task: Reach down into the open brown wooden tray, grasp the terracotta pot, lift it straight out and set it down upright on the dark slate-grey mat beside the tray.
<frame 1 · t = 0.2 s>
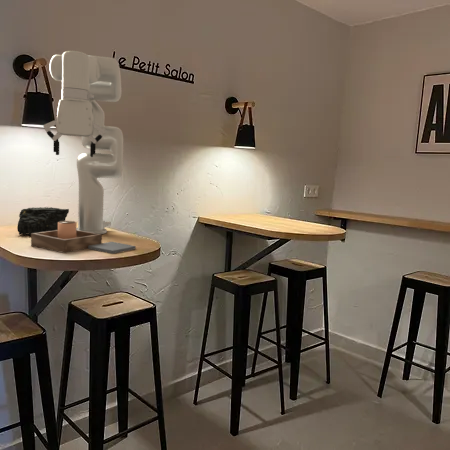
hand: (74, 155, 133), 31 cm above the table, tool pointing down, fingers open, 9 cm apart
brown wooden tray: (66, 245, 153), on the table
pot: (67, 233, 152), in the brown wooden tray
rock: (44, 233, 173), on the table
mat: (112, 248, 152), on the table
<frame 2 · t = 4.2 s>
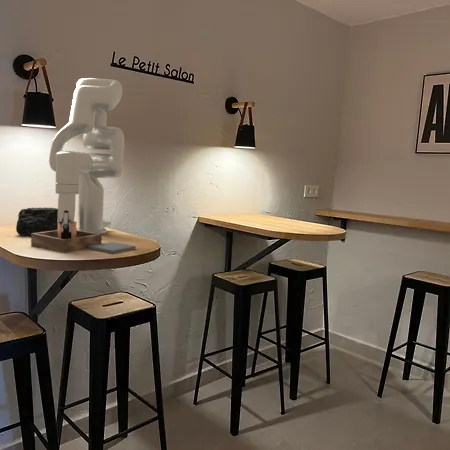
hand: (66, 241, 153), 1 cm above the table, tool pointing down, fingers closed on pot, 6 cm apart
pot: (67, 233, 152), in the brown wooden tray, touching gripper
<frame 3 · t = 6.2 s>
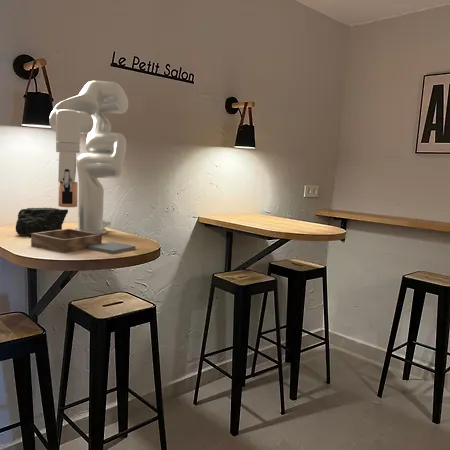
hand: (68, 201, 151), 15 cm above the table, tool pointing down, fingers closed on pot, 6 cm apart
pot: (68, 194, 151), point 18 cm above the table, touching gripper
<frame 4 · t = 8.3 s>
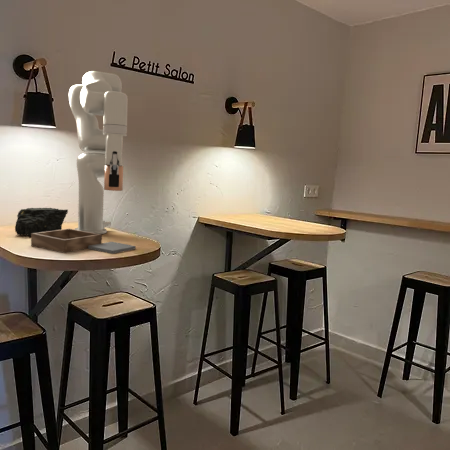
hand: (113, 185, 149), 21 cm above the table, tool pointing down, fingers closed on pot, 6 cm apart
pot: (113, 177, 149), point 24 cm above the table, touching gripper
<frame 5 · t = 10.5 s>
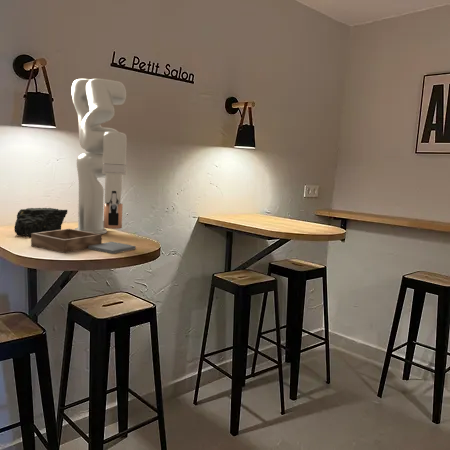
hand: (113, 223, 151), 9 cm above the table, tool pointing down, fingers closed on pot, 6 cm apart
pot: (113, 215, 150), point 12 cm above the table, touching gripper
when the fingers open (4 cm above the table, at t = 12.5 s): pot drops 1 cm, resting on mat.
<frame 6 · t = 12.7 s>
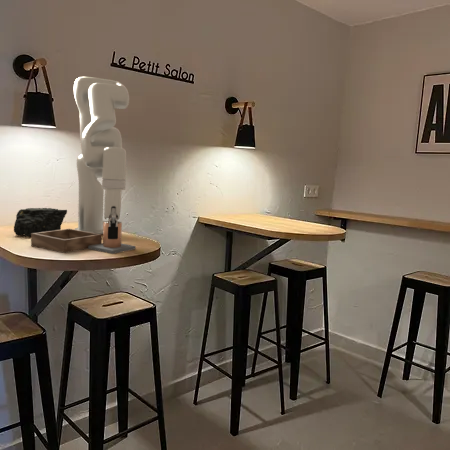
hand: (112, 236, 152), 4 cm above the table, tool pointing down, fingers open, 8 cm apart
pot: (112, 233, 152), on the mat, point 5 cm above the table
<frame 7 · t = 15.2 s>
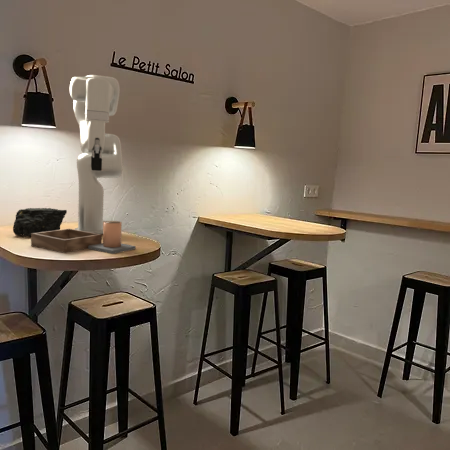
hand: (96, 169, 152), 26 cm above the table, tool pointing down, fingers open, 9 cm apart
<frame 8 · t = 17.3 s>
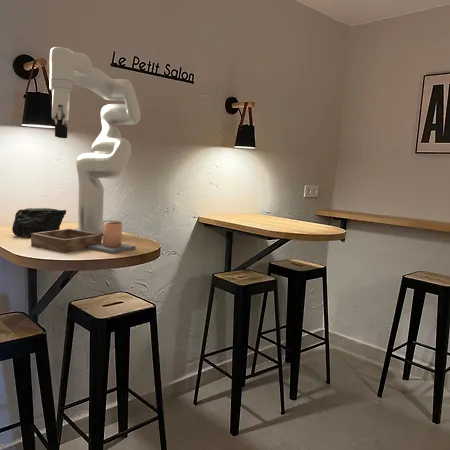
hand: (61, 137, 155), 36 cm above the table, tool pointing down, fingers open, 9 cm apart
at the end: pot inside the target area on the mat (0.1 cm from its centre), point 5.2 cm above the mat's base; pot tilted 2°; the gripper is holding nothing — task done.
